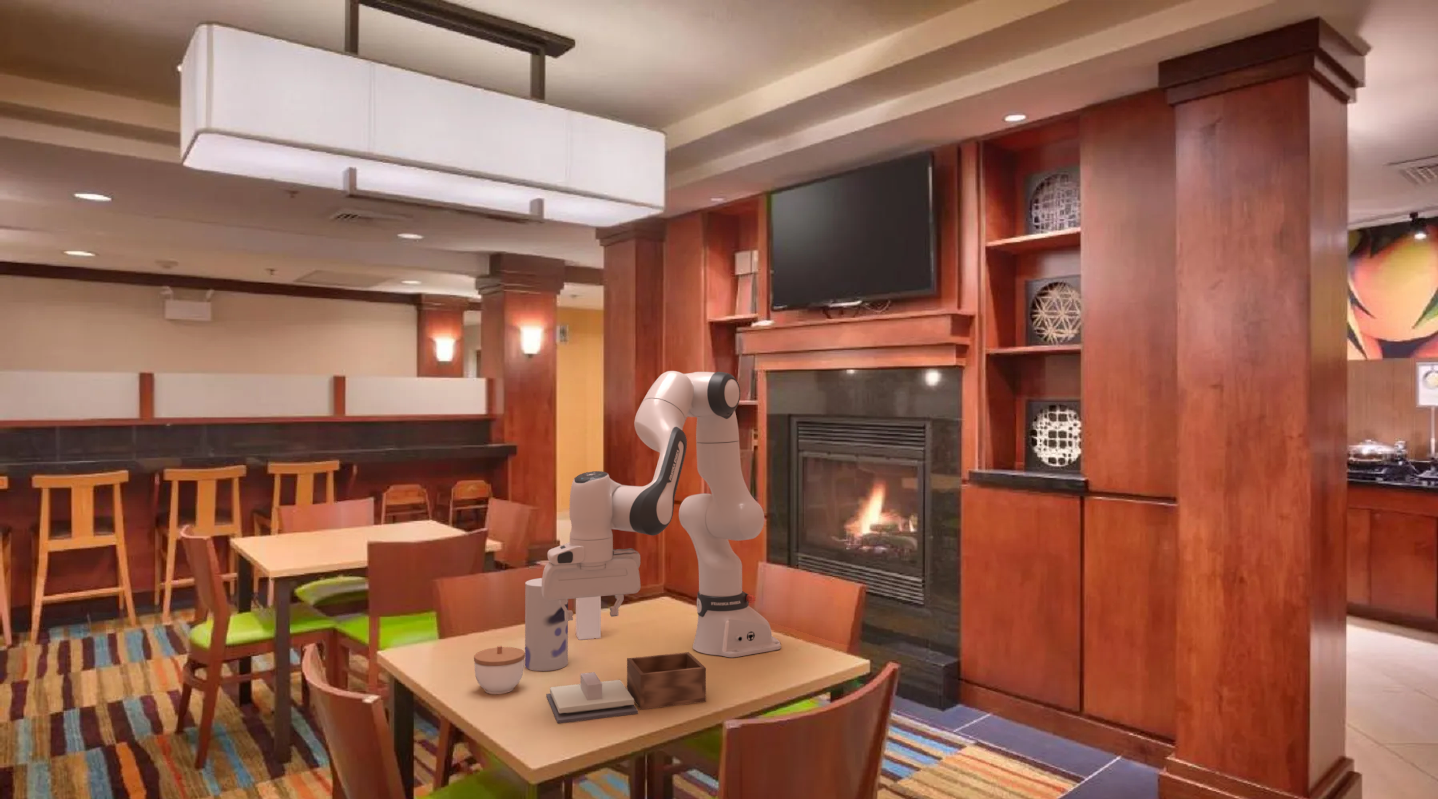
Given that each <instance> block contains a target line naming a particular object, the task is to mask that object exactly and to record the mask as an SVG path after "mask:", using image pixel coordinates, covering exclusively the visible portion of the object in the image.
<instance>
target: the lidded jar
mask: <svg viewBox="0 0 1438 799" xmlns="http://www.w3.org/2000/svg"><path fill="white" fill-rule="evenodd" d="M473 662H474V674H475V679H476V681H477V683H478V685H479V686H480V687H481V688H482V689H483V690H484V692H485V693H486V694H488V695H502V694H503V695H504V694H508V693H510V692H513V691H514V690H515V687H516V686H517V685H518V684H519V683H520V681H521V680H522V678H523V673H524V668H525V650H523V649H521V648H519V647H511V646H509V647H508V646H502V645H498V646H496V647H492V648H487V649H483V650H480V651H478V652H476V653H475V654H474V655H473Z"/></svg>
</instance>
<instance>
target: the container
mask: <svg viewBox="0 0 1438 799" xmlns="http://www.w3.org/2000/svg"><path fill="white" fill-rule="evenodd" d="M524 583H525V584H524V585H525V587H524V588H525V592H524V593H525V594H524V598H525V599H524V600H525V602H524V603H525V604H524V605H525V607H524V609H525V610H524V611H525V612H524V613H525V614H524V624H525V625H524V628H525V629H524V635H525V636H524V652H525V658H524V668H525V669H527V670H529V671H530V670H531V671H534V672H535V671H537V672H548V671H556V670H561V669H563V668H564V667H567V666H568V664H569V621H565V612H564V610H563V608H562V607H561V605H560V603H559V600H550V601H547V600H546V599H545V598H544V597H543V596H542V593H541V587H542V577H539V578H533V579H529V580H526V581H525V582H524ZM564 605H565V606H566V608H567V610H569V599H567V604H564Z"/></svg>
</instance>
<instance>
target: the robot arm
mask: <svg viewBox="0 0 1438 799" xmlns="http://www.w3.org/2000/svg"><path fill="white" fill-rule="evenodd" d="M740 399H741V388H740V384H739V382H738V380H737V379H736V377H735V376H734V375H733V374H732V373H729V372H726V371H725V372H723V371H716V372H713V371H694V372H690V373H683V372H680V371H676V370H667V371H665V372H663V373H662V374H660V375H659V376H658V378H656V380H655V381H654V382H653V383H652V385H651V386H650V388H649V389H648V391H647V393H646V395H645V396H644V398H643V400H642V401H641V403H640V405H639V407H638V409H637V411H636V414H635V417H634V423H633V424H634V430H635V433H636V434H637V437H638V438H639V439H640V441H641V442H642V443H644V445H646V446H647V447H648V448H650V449H652V450H653V451H655V452H658V453H659V458H658V460H657V465H656V467H655V471H654V475H653V478H652V480H651V482H649V483H647V484H646V485H643V486H640V485H627V484H621V483H619V482H616V481H615V480H613V479H612V478H610V475H609V473H608V472H606V471H602V470H601V471H600V470H596V471H594V470H593V471H587V472H583V473H582V472H581V473H580V474H578V475H577V476H575V477H574V478H573V479H572V483H571V486H570V492H569V493H570V494H569V513H568V514H569V520H570V524H571V529H570V533H569V542H568V541H567V542H566V543H563V544H560V545H558V546H556V547H553V548H550V549H548V551H547V553H546V554H547V559H548V562H547V563H546V564H545V565H544V568H543V571H542V577H541V578H542V587H541V593H542V596H543V597H544V598H545V599H546V600H547V601H550V600H559V603H560V605H561V607H562V608H563V610H564V612H565V621H568V622H569V621H574V612H573V610H572V609H571V610H570V609H568V610H567V608H566V606H565V605H564V604H567V599H568V600H572V599H576V598H586V597H598V596H601V597H606V596H608V597H609V596H614V598H615V599H616V601H615V603H614V604H613V605H612V606H609V610H610V611H609V615H610V616H609V617H611V618H612V617H614V618H615V617H619V609H620V607H621V605H622V604H623V601H624V598H625V596H624V595H629V594H631V595H632V594H637V593H639V591H640V590H641V579H640V578H641V574H640V571H639V568H640V565H641V554H640V553H639V551H638V550H635V549H634V548H629V547H628V548H625V549H624V548H623V549H622V548H618V549H615V548H614V547H613V546H614V545H613V544H614V543H613V542H614V540H613V538H614V534H613V531H612V530H618V531H624V532H632V533H637V534H638V533H639V534H643V535H648V536H652V537H653V536H657V535H659V534H661V533H662V532H663V531H664V530H665V529H666V528H667V527H668V526H669V525H670V523H671V521H672V519H673V515H674V510H675V509H674V507H675V497H676V493H677V490H678V489H677V488H678V485H679V482H680V477H681V473H682V470H683V467H684V462H685V457H686V452H687V445H688V440H687V439H688V438H687V435H686V433H685V432H684V430H683V428H684V425H685V424H686V420H687V419H688V417H689V418H696V428H695V430H696V431H695V437H696V438H695V442H696V443H695V445H696V446H695V447H696V469H697V473H698V475H699V476H700V477H701V478H702V479H703V480H704V482H705V483H706V484H707V486H708V487H709V489H710V493H697V494H691V495H688V496H686V497H685V498H684V499H683V500H682V501H681V503H680V506H679V510H678V520H679V523H680V525H681V526H682V528H683V529H684V530H685V531H686V532H687V534H688V535H689V537H690V539H691V542H692V544H693V548H694V550H695V553H696V557H697V563H698V591H697V596H696V611H697V615H698V616H697V624H696V631H695V637H694V641H693V644H692V649H693V650H695V651H696V652H698V653H701V654H706V655H711V656H723V657H727V658H737V657H742V656H743V657H744V656H749V655H754V654H755V655H756V654H759V653H760V654H761V653H765V652H771V651H777V650H780V649H781V647H782V646H781V641H780V640H779V639H778V638H776V637H775V636H773V635H772V628H771V625H770V623H769V621H768V620H767V619H766V618H765V617H764V616H763V615H761V614H760V613H759V612H758V611H756V610H755V609H754V608H753V607H751V606H750V604H754V603H755V602H756V597H755V595H753V594H750V593H749V594H748V593H747V592H745V591H743V563H742V561H741V558H740V557H739V556H738V554H737V553H735V552H734V550H733V548H732V546H731V544H730V542H729V540H730V541H737V542H738V541H746V540H753V539H755V538H757V537H758V536H759V535H760V534H761V532H762V531H763V528H764V525H765V513H764V509H763V507H762V506H761V505H760V503H759V502H758V501H756V499H754V497H753V496H752V494H751V492H750V491H749V489H748V486H747V484H746V481H745V480H744V479H745V478H744V476H743V475H744V474H743V471H742V463H741V449H740V448H741V447H740V433H739V432H740V431H739V424H738V419H737V415H736V409H737V408H738V406H739V404H740Z"/></svg>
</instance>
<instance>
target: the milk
mask: <svg viewBox="0 0 1438 799" xmlns="http://www.w3.org/2000/svg"><path fill="white" fill-rule="evenodd" d="M601 597H602V596H598V597H586V598H575V635H576V637H577V640H578V641H579V640H580V641H582V640H594V638H596V639H601V638H602V635H601V634H602V633H601V632H602V624H601V622H602V620H601V619H602V617H601V616H602V608H601V607H602V598H601Z"/></svg>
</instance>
